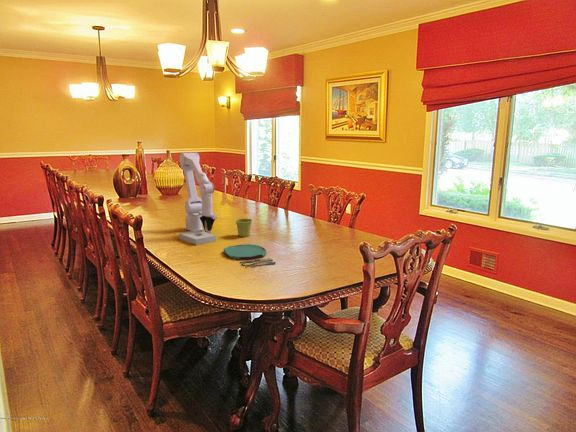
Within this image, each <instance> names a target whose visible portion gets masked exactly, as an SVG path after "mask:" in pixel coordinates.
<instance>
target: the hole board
mask: <svg viewBox="0 0 576 432" xmlns="http://www.w3.org/2000/svg"><path fill="white" fill-rule="evenodd" d="M178 237H179V238H178V239H179V240H181V241H183V242H185V243H189V244H192V245H195V246H199V245H200V246H201V245H205V244H208V242H209V243H213V241H214V242H216V241H217V235H216V234H213V233H211V234H210V233H207V232H205V231H204V230H195V231H190V230H189V231H185V232H180V233H178ZM204 243H205V244H204Z"/></svg>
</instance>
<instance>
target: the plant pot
mask: <svg viewBox="0 0 576 432" xmlns="http://www.w3.org/2000/svg"><path fill="white" fill-rule="evenodd" d="M234 221H235V223H236V226H237V234H238V237H242V238H244V237H245V238H246V237H250V235H251V229H252V228H251V227H252V223H253V221H254V220H253V219H251V218H238V219H235V220H234Z"/></svg>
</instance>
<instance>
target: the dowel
mask: <svg viewBox="0 0 576 432" xmlns="http://www.w3.org/2000/svg"><path fill="white" fill-rule="evenodd" d="M204 232H207V233H210V234H212V233H211V232H212V230H211V231H208V230H207V223H206V221H205V230H204Z"/></svg>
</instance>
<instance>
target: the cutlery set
mask: <svg viewBox="0 0 576 432" xmlns="http://www.w3.org/2000/svg"><path fill="white" fill-rule="evenodd" d="M223 254H224V255H225V256H227V257H230V258H231V259H233V260H238V259H245V260H242V261H240V262H239V264H241V266H243V265H242V264H244V265H246V264H245V263H253V265H252V264H249V266H248V267H251V268H256V267H255V266H257V267H258V266H259V267H260V266H261V265H265V266H270V265H269V264H271V265H276V264H277V263H276V261H273V259H272V258H270V257H269V258H263V259H262V258H261V259H260V258H258V257H261V256H263V257H265V256H266V255H267V250H266V248H264V247H263V246H260V245H257V244H253V243H252V244H251V243H247V244H238V245H237V244H236V245H230V246H226V247H225V248H223ZM254 258H257V259H254ZM246 259H251V260H246ZM253 259H254V260H253ZM266 259H267V260H266ZM251 261H253V262H251ZM242 262H245V263H242ZM255 263H256V264H255ZM261 267H262V266H261Z"/></svg>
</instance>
